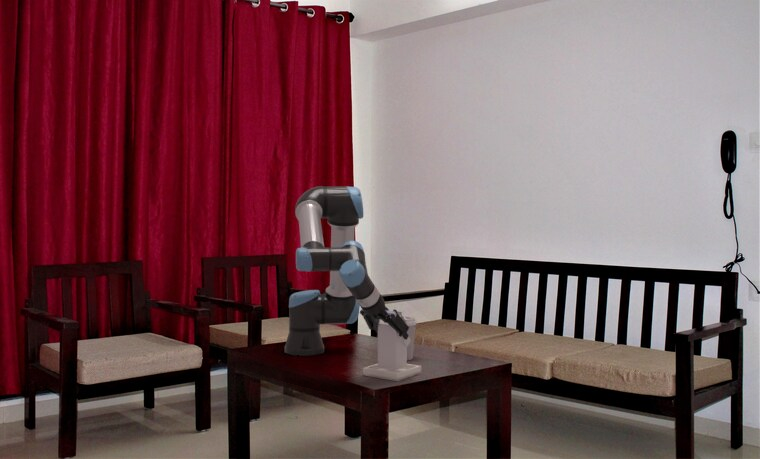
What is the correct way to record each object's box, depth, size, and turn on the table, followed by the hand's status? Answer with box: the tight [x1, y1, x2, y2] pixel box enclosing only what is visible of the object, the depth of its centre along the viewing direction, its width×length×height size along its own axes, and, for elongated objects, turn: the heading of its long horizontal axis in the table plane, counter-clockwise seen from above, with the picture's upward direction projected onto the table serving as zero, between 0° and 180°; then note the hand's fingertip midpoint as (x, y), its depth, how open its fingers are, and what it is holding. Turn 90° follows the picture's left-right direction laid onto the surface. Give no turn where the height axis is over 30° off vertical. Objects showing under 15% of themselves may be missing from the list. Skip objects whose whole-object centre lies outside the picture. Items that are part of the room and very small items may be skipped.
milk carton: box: [377, 311, 408, 370], centre depth 247 cm, size 7×7×19 cm
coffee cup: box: [402, 315, 418, 361], centre depth 272 cm, size 10×10×15 cm
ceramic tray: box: [362, 363, 422, 382], centre depth 247 cm, size 14×14×2 cm
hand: (398, 342), depth 250 cm, fingers closed on milk carton, 7 cm apart
